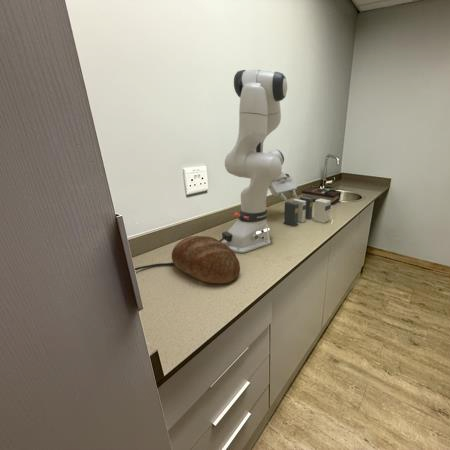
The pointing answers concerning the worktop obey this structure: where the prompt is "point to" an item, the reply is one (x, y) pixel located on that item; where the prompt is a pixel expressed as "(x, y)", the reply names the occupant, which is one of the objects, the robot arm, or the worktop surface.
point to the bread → (206, 259)
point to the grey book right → (308, 206)
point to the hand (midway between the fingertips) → (290, 198)
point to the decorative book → (322, 194)
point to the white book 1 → (301, 209)
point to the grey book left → (291, 213)
